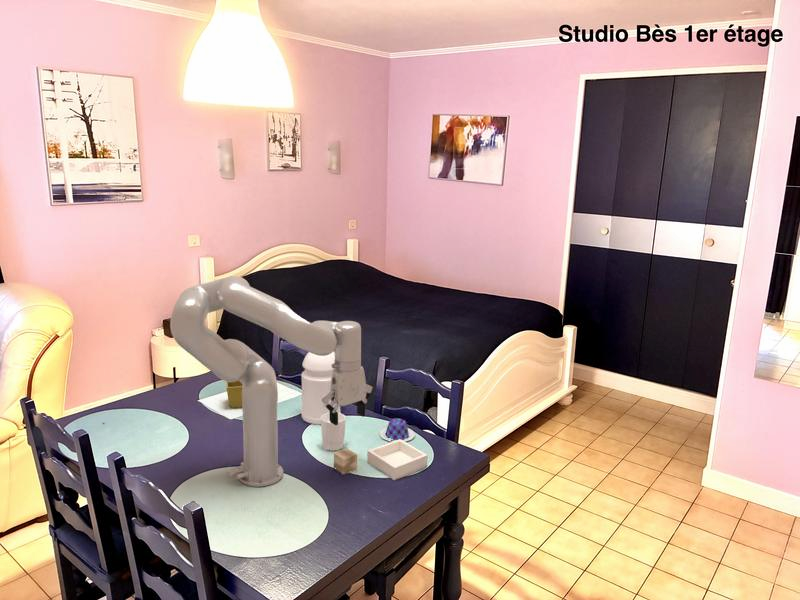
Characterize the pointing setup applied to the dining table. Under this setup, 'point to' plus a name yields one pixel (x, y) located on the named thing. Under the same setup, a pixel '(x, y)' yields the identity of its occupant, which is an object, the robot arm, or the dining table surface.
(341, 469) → the beech cube
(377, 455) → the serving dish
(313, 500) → the dining table surface
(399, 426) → the pudding
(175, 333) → the robot arm
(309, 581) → the dining table surface
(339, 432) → the white cup
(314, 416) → the white bottle
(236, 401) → the flower pot
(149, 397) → the dining table surface
